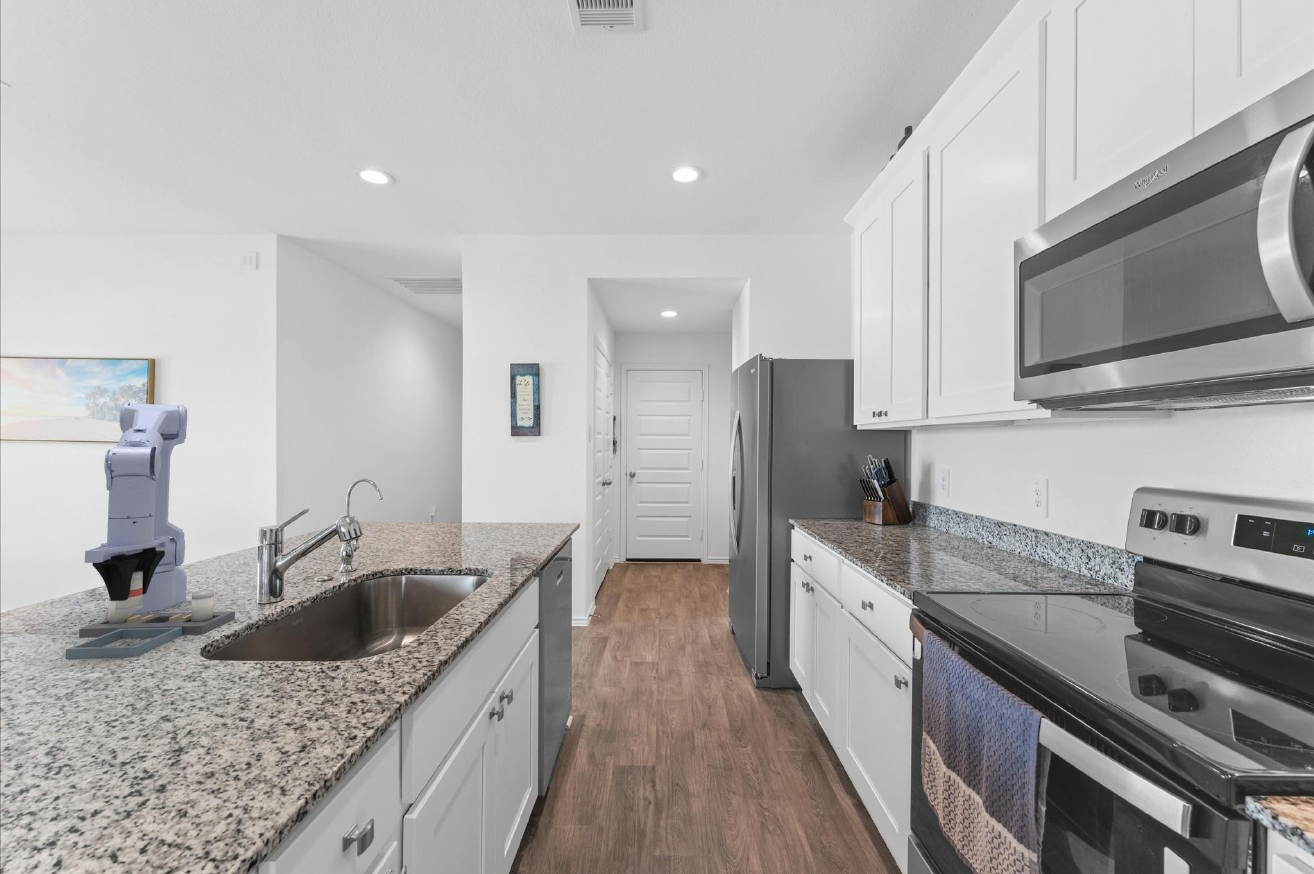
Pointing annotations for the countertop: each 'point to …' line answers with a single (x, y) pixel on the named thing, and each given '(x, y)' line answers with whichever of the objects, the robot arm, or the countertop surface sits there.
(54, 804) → the countertop surface
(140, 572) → the marked fuse
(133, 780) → the countertop surface
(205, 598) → the fuse
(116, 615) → the fuse
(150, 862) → the countertop surface
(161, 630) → the tray
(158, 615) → the fuse holder
